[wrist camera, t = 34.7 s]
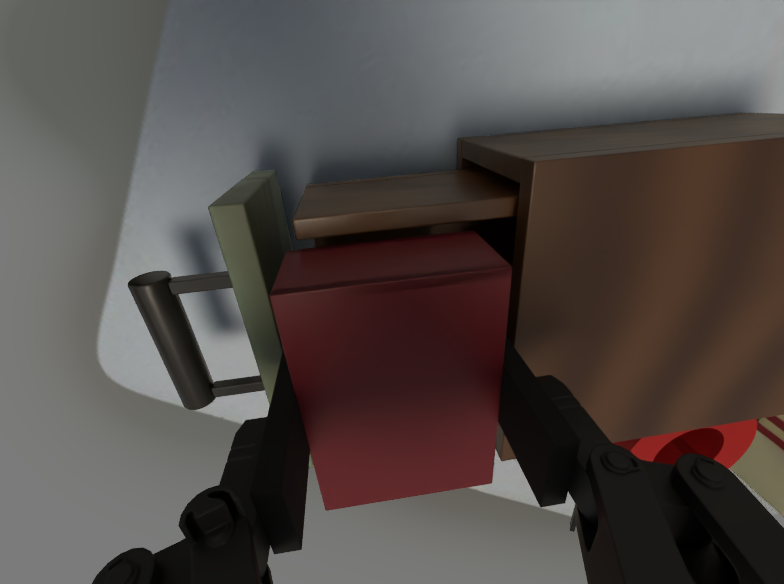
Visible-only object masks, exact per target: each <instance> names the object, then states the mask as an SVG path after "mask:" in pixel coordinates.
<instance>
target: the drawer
mask: <svg viewBox="0 0 784 584" xmlns="http://www.w3.org/2000/svg"><path fill="white" fill-rule="evenodd" d="M519 192H520V183H518V182H516V181H514V180H511V179H509V178H507V177H505V176H502V175H500V174H498V173H496V172H493V171H491V170H489V169H487V168H485V167H482V168H472V169H461V170H451V171H441V172H430V173H420V174H410V175H399V176H389V177H379V178H368V179H358V180H347V181H337V182H327V183H316V184H307V185H306V188H305V190H304V193H303V195H302V198H301V200H300V203H299V205H298V208H297V210H296V213H295V215H294V218H293V226H294V231H295V236H296V239H297V240H303V239H312V238H314V240H315V245H316V248H318V247H327V246H336V245H345V244H354V243H363V242H373V241H382V240H391V239H400V238H409V237H418V236H427V235H436V234H446V233H455V232H464V231H475V232H476V233H477V234H478V235H479V236H480V237H481V238H482V239H483V240H484V241H486V242H487V243H488V244H489V245H490V246H491V247H492V248H493V249H494V250H495V251H496V252H497V253H498V254H499V255H500V256H501V257H502V258H503V259H504V260H505V261H506V262H508V263H509V264H510V265H511V266H512V265H513V255H514V244H515V234H516V223H517V213H518V203H519ZM208 209H209V213H210V216H211V219H212V222H213V225H214V229H215V232H216V235H217V238H218V241H219V244H220V248H221V251H222V254H223V257H224V260H225V264H226V267H227V270H228V271H224V272H215V273H207V274H198V275H189V276H180V277H173V278H172V277H171V274H170V273H169V272H167V271H153V272H149V273H145V274H142V275H139V276H137V277H135V278H133V279H132V280H130V281H129V282H128V287H129V289H130V291H131V294H132V296H133V298H134V300H135V302H136V304H137V306H138V309H139V311H140V313H141V315H142V317H143V319H144V321H145V323H146V326H147V328H148V330H149V332H150V334H151V336H152V338H153V341H154V343H155V345H156V347H157V349H158V351H159V353H160V356H161V358H162V360H163V362H164V364H165V366H166V368H167V371H168V373H169V375H170V377H171V379H172V381H173V383H174V386H175V388H176V390H177V392H178V394H179V396H180V398H181V400H182V403H183V405H184V407H185V408H187V409H189V410H197V409H201V408H203V407H205V406H207V405H209V404H210V403H211V402H213V400H214V399H215V398H216V397H220V396H228V395H235V394H242V393H249V392H256V391H263V390H265V391H266V394H267V398H268V401H269V404H270V403H271V399H272V394H273V390H274V386H275V381H276V377H277V373H278V368H279V364H280V360H281V355H282V351H283V346H282V342H281V338H280V334H279V331H278V327H277V323H276V319H275V315H274V311H273V308H272V304H271V300H270V293H271V291H272V288H273V285H274V283H275V280H276V278H277V275H278V272H279V270H280V267H281V264H282V262H283V259H284V256H285V254H286V251H290V250H293V249H292V244H291V240H290V235H289V230H288V226H287V221H286V216H285V212H284V207H283V202H282V198H281V193H280V188H279V184H278V179H277V174H276V171H275V170H265V171H254V172H251V173H250V174H249V175H248V176H246V177H245V178H244V179H242V180H241V181H240V182H239V183H237V184H236V185H235V186H234V187H232V188H231V189H230V190H229V191H227V192H226V193H225V194H223V195H222V196H221V197H220V198H218V199H217V200H216V201H215V202H213V203H212V204H211V205H210V206H208ZM225 288H233V289H234V292H235V295H236V299H237V302H238V305H239V308H240V311H241V315H242V318H243V321H244V324H245V327H246V331H247V334H248V337H249V340H250V343H251V347H252V350H253V353H254V356H255V359H256V362H257V366H258V369H259V372H260V375H259V376H252V377H245V378H237V379H230V380H223V381H216V382H213V380H212V377H211V375H210V372H209V370H208V367H207V365H206V362H205V360H204V357H203V355H202V352H201V350H200V347H199V345H198V342H197V340H196V337H195V335H194V332H193V330H192V327H191V325H190V322H189V320H188V317H187V315H186V312H185V310H184V307H183V305H182V302H181V300H180V297H179V295H178V294H182V293H191V292H199V291H208V290H216V289H225ZM313 465H314V464H313V460H312V456H311V453H310V457H309V468H310V467H313Z"/></svg>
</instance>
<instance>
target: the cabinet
mask: <svg viewBox="0 0 784 584" xmlns="http://www.w3.org/2000/svg"><path fill="white" fill-rule="evenodd" d="M482 167H485V168H487V169H489V170H491V171H493V172H496V173H498V174H500V175H502V176H505V177H507V178H509V179H511V180H514V181H516V182H518V183H520V192H519V203H518V213H517V223H516V234H515V244H514V255H513V265H512V277H511V287H510V298H509V308H508V319H507V329H506V336H507V338H508V339H509V340H510V342H511V343H512V345H513V346H514V347H515V349H516V350H517V352H518V353H519V354H520V356H521V357H522V359H523V360H524V361H525V363H526V364H527V366H528V367H529V368H530V370H531V371H532V373H533V374H534V375H535V377H539V376H546V375H552V376H554V377H555V378H557V379H558V380H560V381H561V382H563V383H564V384H565V385H566V386H567V388H568V389H569V390H570V391H571V393H572V394H573V396H574V397H575V398H576V399H577V400H578V401H579V403H580V404H581V407H583V408H584V409H585V410H586V411H587V413H588V414H589V415H590V416H591V418H592V419H593V420H594V421H595V423H596V424H597V425H598V426H599V428H600V429H601V430H602V431H603V433H604V434H605V435H606V436H607V438H608V439H609V440H610V441H611V442H612V443H614V442H620V441H626V440H632V439H638V438H644V437H650V436H657V435H663V434H669V433H675V432H681V431H687V430H693V429H699V428H705V427H711V426H717V425H723V424H729V423H735V422H741V421H748V420H754V419H760V418H766V417H772V416H778V415H784V114H770V113H734V114H722V115H711V116H700V117H689V118H678V119H666V120H655V121H644V122H633V123H622V124H611V125H599V126H588V127H577V128H566V129H555V130H543V131H532V132H521V133H510V134H499V135H488V136H476V137H465V138H458V139H457V170H461V169H472V168H482ZM495 448H496V451H497V453H498V455H499V457H500V459H501V461H505V460H511V459H516V457H515V455H514V453H513V451H512V449H511V447H510V445H509V443H508V440H507V438H506V436H505V434H504V432H503V430H502V428H501V426H500V424H499V422H498V425H497V435H496V446H495Z"/></svg>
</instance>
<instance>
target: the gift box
mask: <svg viewBox="0 0 784 584" xmlns="http://www.w3.org/2000/svg"><path fill="white" fill-rule="evenodd" d="M730 469H731V470H732V471H733V472H734V473H735V474H736V475H737V476H739V477H740V478H741V479H742V480H743V481H744V482H745V483H746V484H748V485H749V486H750V487H751V488H752V489H753V490H754V491H755V492H756V493H757V494H759V495H760V496H761V497H762V498H763V499H764V500H765V501H766V502H767V503H769V504H770V505H771V506H772V507H773V508H774V509H775V510H776V511H777V512H778V513H780V514H781V515H782V516H783V517H784V415H778V416H772V417H766V418H760V419H759V420H758V421H757V431H756V435H755V437H754V440H753V441H752V443H751V445H750V447H749V448H748V449H747V451H746V452H745V453H744V455H743V456H742V457H741V458H740V459H739V460H738V461H737V462H736V463H735V464H734V465H732V466H731V467H730Z"/></svg>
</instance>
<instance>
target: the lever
mask: <svg viewBox="0 0 784 584" xmlns="http://www.w3.org/2000/svg"><path fill="white" fill-rule="evenodd" d="M756 431H757V419H754V420H748V421H741V422H735V423H729V424H723V425H717V426H711V427H705V428H699V429H693V430H687V431H681V432H675V433H669V434H663V435H657V436H650V437H644V438H638V439H632V440H626V441H620V442H614V443H613V444H615V445H619V446H621V447H623V448H625V449H627V450H629V451H631V452H632V453H633V454H634V455H635V456H636V457H637V458H639V459H641V460H645V461H651V462H659V463H666V464H674V465H675V462H676V460H677V459H678V458H679V457H680V456H681V455H683V454H687V453H693V454H701V455H703V456H706V457H709V458H712V459H714V460H715V461H717V462H719V463H721V464H722V465H724V466H725V467H726V468H727V469H729V468H730V467H731V466H732V465H734V464H735V463H736V462H737V461H738V460H739V459H740V458H741V457H742V456H743V455H744V453H745V452H746V451H747V449H748V448H749V447H750V445H751V443H752V441H753V440H754V437H755V435H756Z"/></svg>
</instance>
